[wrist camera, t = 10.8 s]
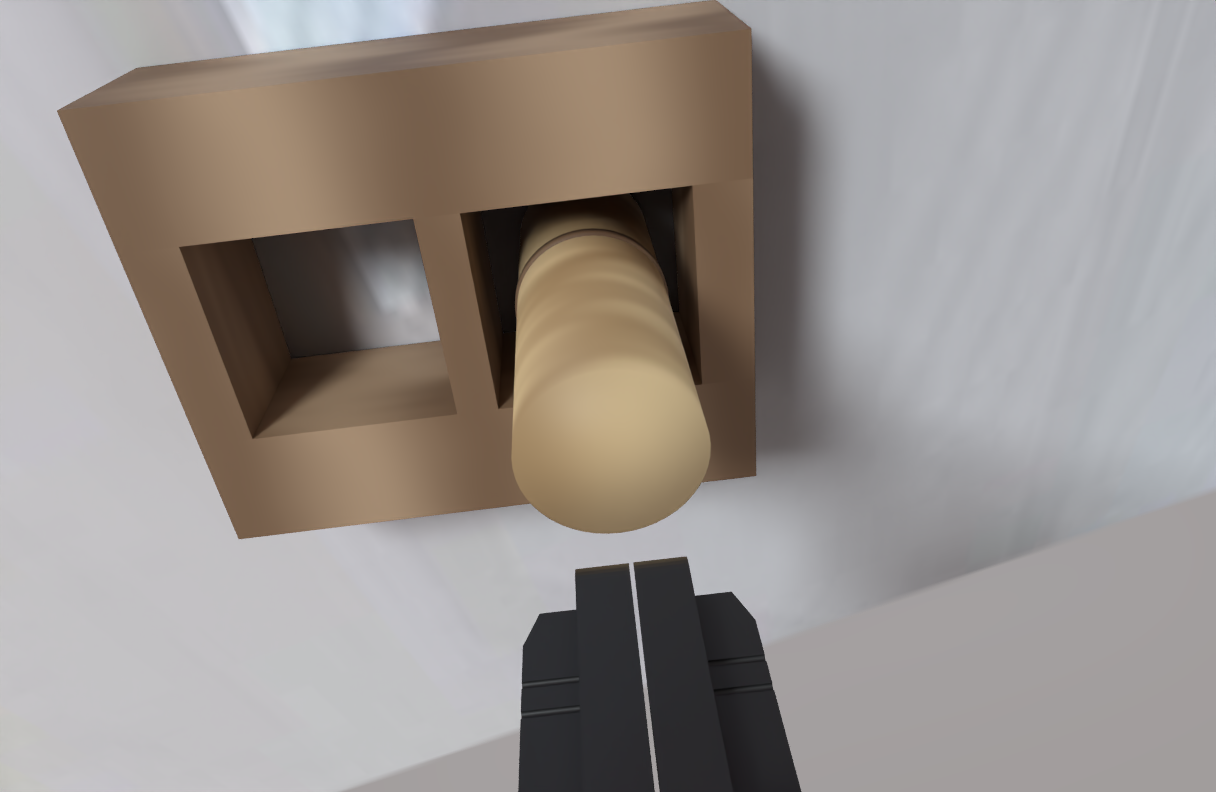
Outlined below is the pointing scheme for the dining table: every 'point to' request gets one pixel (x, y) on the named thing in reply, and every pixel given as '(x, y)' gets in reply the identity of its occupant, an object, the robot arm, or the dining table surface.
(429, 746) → the dining table surface
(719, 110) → the board
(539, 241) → the peg
